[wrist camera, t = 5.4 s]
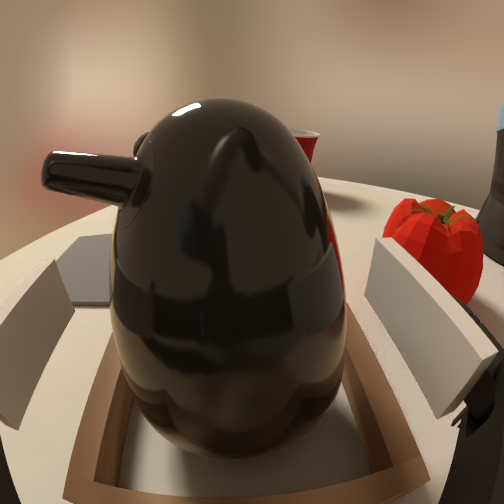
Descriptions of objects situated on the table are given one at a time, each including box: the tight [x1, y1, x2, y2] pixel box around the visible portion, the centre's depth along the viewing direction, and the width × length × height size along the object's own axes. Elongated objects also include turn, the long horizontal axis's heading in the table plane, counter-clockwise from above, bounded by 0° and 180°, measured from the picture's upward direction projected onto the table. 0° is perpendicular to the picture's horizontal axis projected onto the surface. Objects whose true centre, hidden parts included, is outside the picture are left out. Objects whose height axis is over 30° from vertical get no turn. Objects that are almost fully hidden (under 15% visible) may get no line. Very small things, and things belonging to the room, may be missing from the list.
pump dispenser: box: [41, 97, 347, 460], centre depth 11 cm, size 10×10×15 cm
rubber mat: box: [56, 234, 113, 305], centre depth 29 cm, size 16×16×1 cm
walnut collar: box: [63, 302, 431, 504], centre depth 14 cm, size 16×16×2 cm
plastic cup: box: [289, 129, 320, 163], centre depth 51 cm, size 11×11×12 cm
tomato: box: [382, 199, 483, 305], centre depth 21 cm, size 11×11×9 cm
